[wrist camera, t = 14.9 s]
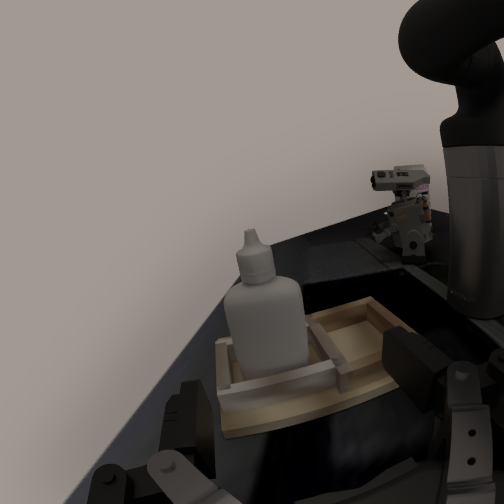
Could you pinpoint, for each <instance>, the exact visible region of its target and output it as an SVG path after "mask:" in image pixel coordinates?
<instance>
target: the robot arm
mask: <svg viewBox="0 0 504 504" xmlns="http://www.w3.org/2000/svg"><path fill="white" fill-rule="evenodd" d="M398 35H399V36H398V44H399V50H400V53H401V55H402V58H403V59H404V61H405V62H406V64H407V65H408V66H409V67H410V68H411V69H412V70H413V71H414V72H415V73H417V74H419V75H420V76H422V77H424V78H427V79H429V80H432V81H435V82H439V83H444V84H449V85H454V86H455V88H456V93H457V98H458V105H459V108H458V111H457V112H456V114H455V115H453V116H451V117H449V118H447V119H445V120H444V121H442V123H441V125H440V135H441V140H442V147H443V152H444V160H445V167H446V175H447V185H448V197H449V216H450V260H449V278H448V291H447V301H448V303H449V305H450V306H451V307H452V308H453V309H455V310H456V311H457V312H459V313H461V314H463V315H466V316H469V317H474V318H482V319H488V318H495V317H499V316H502V315H504V62H503V59H502V56H501V53H500V51H499V49H498V47H497V45H496V43H495V41H497V40H499V39H501V38H504V0H419V1H418V2H416V3H415V4H414V5H413V6H412V7H411V8H410V9H409V11H408V12H407V13H406V15H405V17H404V18H403V20H402V23H401V26H400V29H399V34H398ZM382 364H383V367H384V369H385V370H386V372H387V373H388V374H389V375H390V376H391V377H392V378H393V380H394V381H395V382H396V383H397V384H398V385H399V387H400V388H401V389H402V390H403V391H404V392H405V393H406V395H407V396H408V397H409V398H410V399H411V400H412V402H413V403H414V404H415V405H416V406H417V407H418V409H419V410H420V411H421V412H422V413H423V414H424V413H426V412H427V411H429V410H431V409H432V410H433V411H434V414H433V421H432V432H431V441H430V449H429V453H428V456H427V459H426V461H420V462H415V461H414V460H413V458H412V457H410V458H409V459H407V460H405V461H403V462H401V463H399V464H397V465H395V466H393V467H391V468H389V469H387V470H385V471H384V472H382V473H381V474H380V475H378V476H377V477H375V478H374V479H373V480H371V481H370V482H368V483H367V484H365V485H364V486H362V487H361V488H358V489H352V490H346V491H339V492H332V493H325V494H322V495H318V496H315V497H311V498H308V499H304V500H300V501H296V502H294V503H295V504H504V471H498V470H492V430H493V432H494V433H495V434H496V435H497V436H498V437H499V439H500V440H501V441H502V442H503V443H504V396H503V393H504V349H503V348H501V349H496V350H494V351H493V352H492V353H491V355H490V358H489V361H488V362H486V363H483V364H479V365H476V366H475V365H474V364H472V363H470V362H468V361H456V362H454V361H453V360H451V359H450V358H449V357H448V356H447V355H445V354H444V353H443V352H442V351H440V350H439V349H438V348H437V347H434V345H433V344H432V343H431V342H429V341H428V340H427V339H426V338H424V337H423V336H422V335H420V334H417V333H414V332H408V331H407V330H406V329H404V328H403V327H402V326H400V325H399V326H396V327H393V328H391V329H388V330H386V331H384V333H383V344H382ZM164 414H165V415H164V419H163V422H164V423H163V425H162V431H161V438H160V445H159V451H158V452H157V453H156V454H154V455H153V456H152V457H151V458H150V459H149V461H148V463H147V465H145V466H142V467H138V468H134V469H130V470H126V471H125V470H124V469H123V468H122V467H120V466H118V465H116V464H106V465H103V466H101V467H99V468H98V469H97V470H96V471H95V472H94V474H93V477H92V481H91V486H90V491H89V496H88V501H87V504H242V503H241V502H240V501H238V500H237V499H236V498H234V497H233V496H232V495H231V494H229V493H228V492H227V491H225V490H224V489H222V488H218V487H217V486H216V485H215V484H213V483H212V482H211V481H210V480H209V479H216V471H215V452H214V427H213V413H212V408H211V405H210V402H209V400H208V397H207V395H206V393H205V390H204V387H203V385H202V382H201V381H200V379H198V380H192V381H185V382H182V383H181V389H180V394H177V395H172V396H171V397H170V399H169V400H168V402H167V403H166V407H165V413H164ZM491 429H492V430H491Z"/></svg>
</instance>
